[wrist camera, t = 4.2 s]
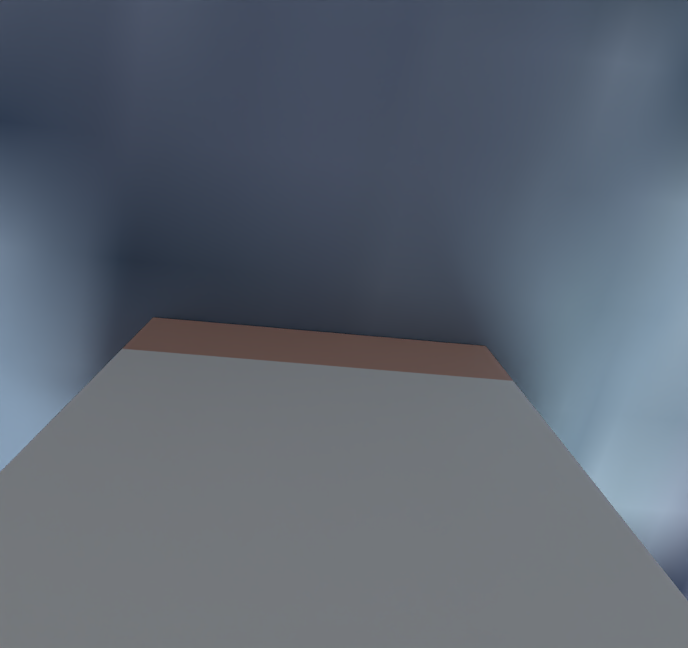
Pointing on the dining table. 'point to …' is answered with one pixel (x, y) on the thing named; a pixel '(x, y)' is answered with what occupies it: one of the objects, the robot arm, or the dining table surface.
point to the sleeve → (314, 506)
